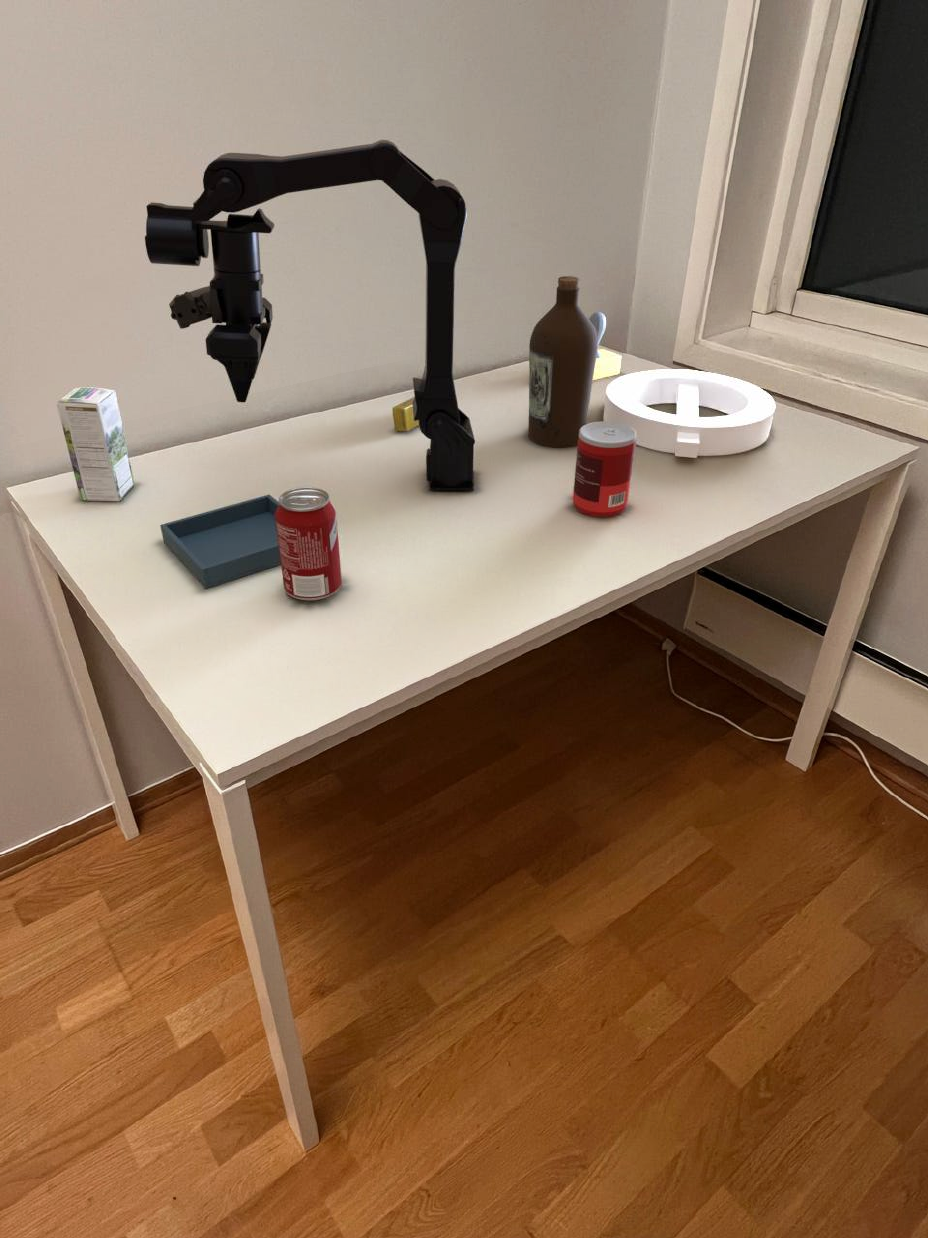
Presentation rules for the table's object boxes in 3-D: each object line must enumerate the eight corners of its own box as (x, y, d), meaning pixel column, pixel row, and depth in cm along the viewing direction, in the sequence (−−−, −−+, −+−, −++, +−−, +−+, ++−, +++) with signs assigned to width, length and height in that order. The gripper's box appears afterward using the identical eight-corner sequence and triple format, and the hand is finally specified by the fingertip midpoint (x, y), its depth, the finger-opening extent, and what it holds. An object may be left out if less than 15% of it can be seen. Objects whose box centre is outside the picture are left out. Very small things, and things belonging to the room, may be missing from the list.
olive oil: (568, 421, 145) (581, 268, 131) (600, 443, 137) (618, 283, 123) (513, 430, 142) (520, 273, 127) (543, 453, 134) (555, 289, 119)
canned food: (631, 497, 121) (641, 424, 115) (621, 522, 115) (631, 446, 108) (579, 489, 123) (586, 417, 117) (566, 513, 117) (573, 438, 110)
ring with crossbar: (685, 385, 161) (689, 360, 159) (804, 433, 142) (811, 406, 139) (570, 412, 149) (573, 386, 146) (684, 469, 129) (689, 440, 127)
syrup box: (97, 483, 123) (72, 386, 114) (137, 485, 122) (114, 387, 114) (80, 501, 118) (53, 400, 110) (121, 502, 118) (97, 402, 109)
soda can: (331, 608, 96) (322, 514, 90) (275, 601, 97) (263, 508, 91) (349, 578, 102) (342, 487, 95) (296, 571, 103) (286, 481, 96)
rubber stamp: (600, 366, 170) (606, 305, 163) (620, 374, 166) (628, 311, 160) (563, 375, 165) (568, 312, 159) (583, 383, 161) (589, 319, 155)
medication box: (432, 410, 149) (430, 387, 147) (445, 411, 148) (443, 388, 146) (393, 430, 140) (391, 406, 138) (407, 432, 139) (404, 408, 137)
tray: (271, 511, 116) (269, 494, 114) (319, 551, 107) (317, 533, 105) (164, 543, 108) (159, 524, 107) (205, 589, 99) (202, 569, 98)
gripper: (184, 249, 112) (196, 365, 121) (154, 281, 97) (171, 412, 105) (269, 254, 113) (275, 369, 122) (253, 287, 98) (261, 416, 107)
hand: (245, 389), depth 114 cm, fingers open, 9 cm apart
